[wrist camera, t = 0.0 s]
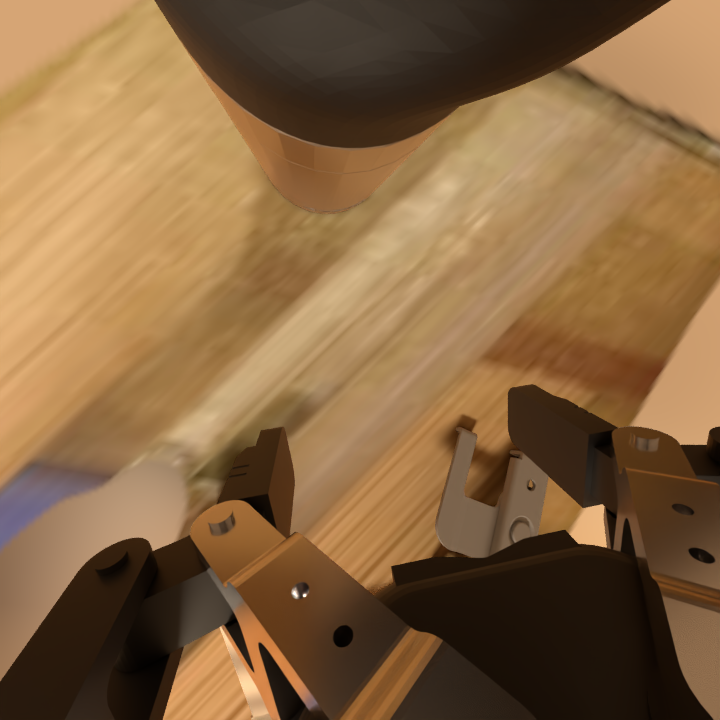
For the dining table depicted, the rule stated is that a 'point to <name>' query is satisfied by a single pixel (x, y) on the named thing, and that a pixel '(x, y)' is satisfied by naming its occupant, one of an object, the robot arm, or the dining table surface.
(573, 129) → the dining table surface
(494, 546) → the bracket
